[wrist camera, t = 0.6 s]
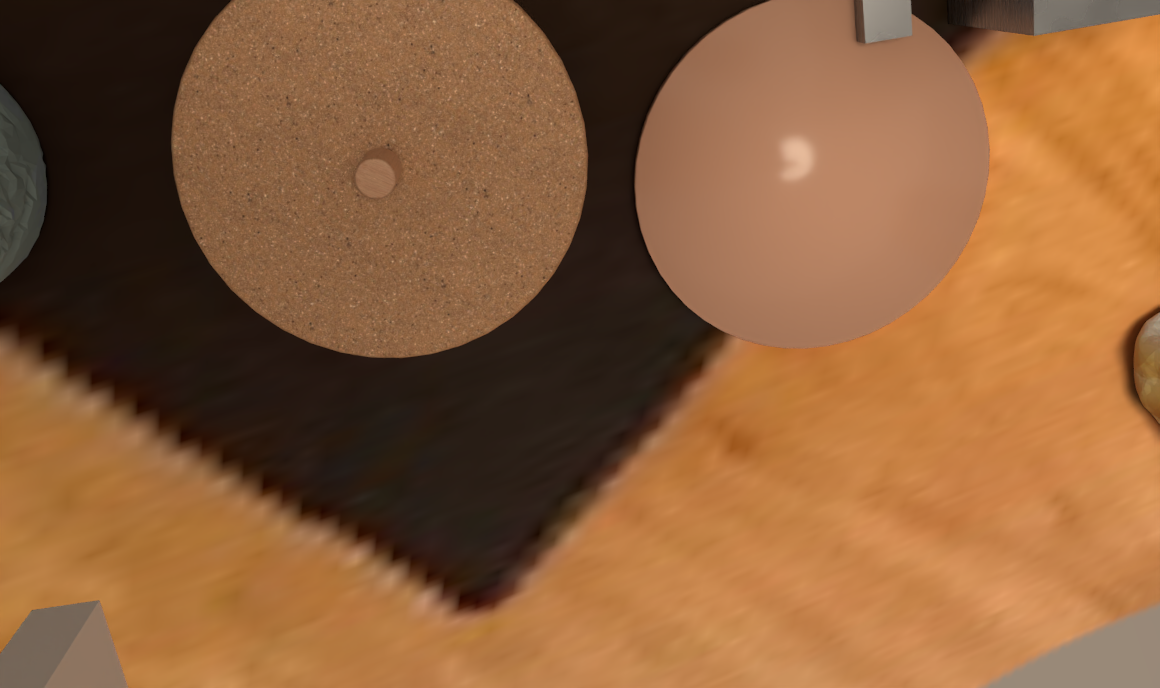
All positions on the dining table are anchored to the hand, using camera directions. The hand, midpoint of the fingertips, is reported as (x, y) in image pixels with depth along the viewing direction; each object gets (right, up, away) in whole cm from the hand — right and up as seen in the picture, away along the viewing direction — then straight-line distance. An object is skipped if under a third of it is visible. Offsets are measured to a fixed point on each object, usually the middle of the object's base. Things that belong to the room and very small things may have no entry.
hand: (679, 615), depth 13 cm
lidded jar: (-7, +10, +23) cm, 26 cm away
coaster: (+7, +9, +24) cm, 26 cm away
